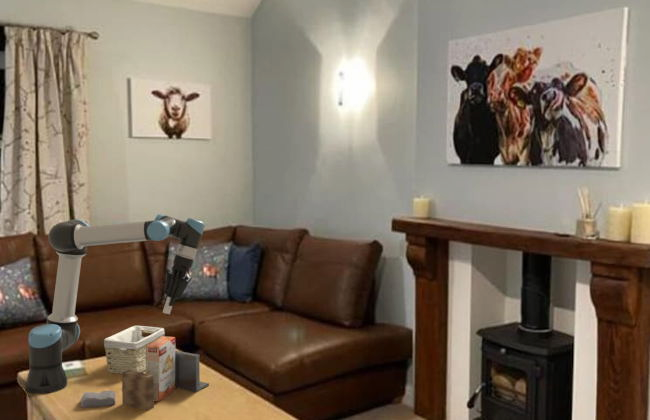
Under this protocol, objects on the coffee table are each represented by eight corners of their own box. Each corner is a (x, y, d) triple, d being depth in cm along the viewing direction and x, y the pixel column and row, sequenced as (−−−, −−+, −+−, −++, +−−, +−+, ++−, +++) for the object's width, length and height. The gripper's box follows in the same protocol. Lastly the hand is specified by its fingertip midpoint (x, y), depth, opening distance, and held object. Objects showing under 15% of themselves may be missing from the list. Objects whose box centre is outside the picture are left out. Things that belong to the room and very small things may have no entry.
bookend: (167, 385, 252) (167, 351, 251) (180, 379, 259) (180, 345, 258) (196, 391, 246) (196, 356, 244) (209, 385, 253) (208, 350, 252)
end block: (122, 404, 233) (122, 372, 232) (128, 401, 235) (128, 369, 234) (147, 410, 227) (147, 377, 226) (153, 407, 230) (153, 375, 229)
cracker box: (160, 402, 235) (159, 346, 233) (145, 400, 236) (144, 345, 235) (176, 389, 249) (176, 336, 247) (162, 387, 250) (161, 335, 248)
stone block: (82, 404, 237) (80, 409, 228) (83, 391, 238) (80, 395, 228) (116, 402, 240) (114, 407, 231) (116, 389, 241) (115, 393, 232)
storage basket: (136, 377, 261) (136, 342, 260) (102, 373, 266) (101, 338, 265) (166, 360, 284) (166, 327, 283) (134, 356, 289) (134, 324, 287)
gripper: (167, 251, 257) (148, 307, 255) (189, 258, 250) (169, 316, 248) (180, 254, 263) (162, 309, 261) (202, 262, 256) (183, 318, 254)
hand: (166, 313), depth 254 cm, fingers closed
